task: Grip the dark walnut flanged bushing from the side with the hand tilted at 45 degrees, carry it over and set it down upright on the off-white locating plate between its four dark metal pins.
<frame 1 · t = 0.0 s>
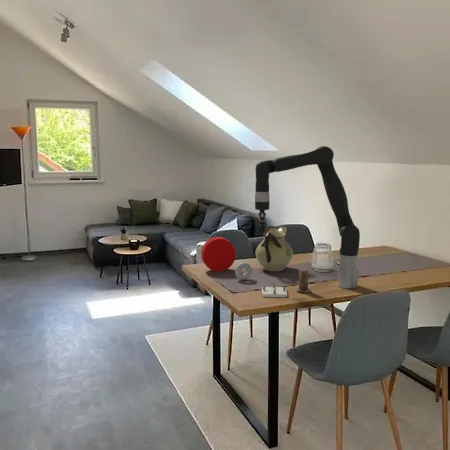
hand: (262, 231, 245), 29 cm above the table, tool pointing down, fingers open, 8 cm apart
tied beige sack: (274, 269, 283), on the table
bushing: (303, 291, 238), on the table
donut: (243, 280, 260), on the table
red round disc: (218, 270, 281), on the table
locating plate: (274, 293, 235), on the table
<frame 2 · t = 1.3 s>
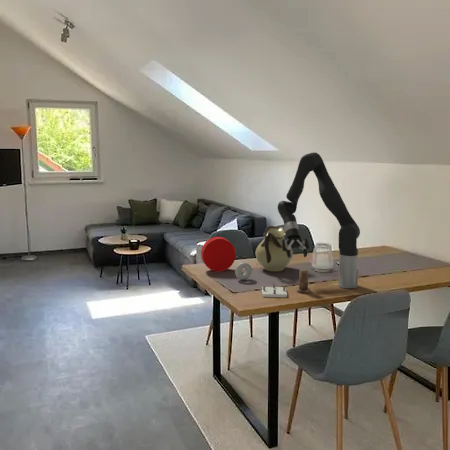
hand: (297, 256, 247), 15 cm above the table, tool tilted 45°, fingers open, 8 cm apart
nothing on the table moved.
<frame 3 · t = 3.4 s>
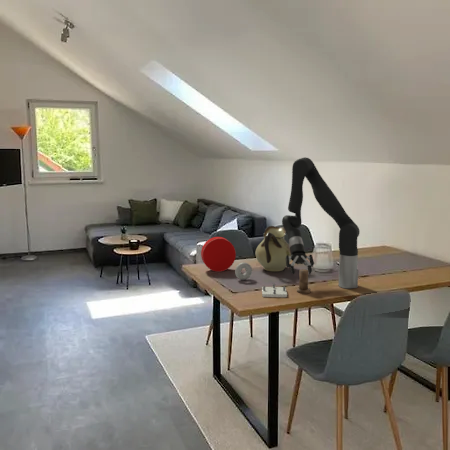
hand: (301, 273, 240), 9 cm above the table, tool tilted 45°, fingers open, 8 cm apart
nothing on the table moved.
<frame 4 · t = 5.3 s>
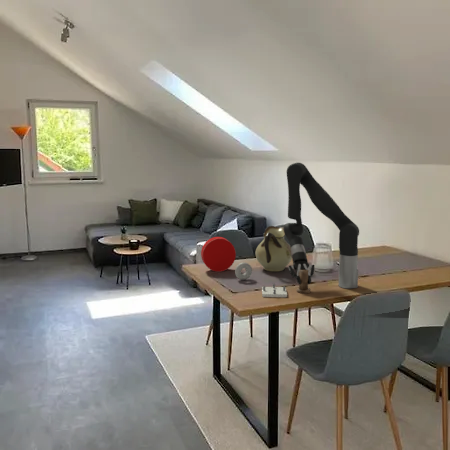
hand: (304, 283, 236), 5 cm above the table, tool tilted 45°, fingers closed on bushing, 4 cm apart
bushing: (303, 291, 238), on the table, touching gripper
everything else where it was.
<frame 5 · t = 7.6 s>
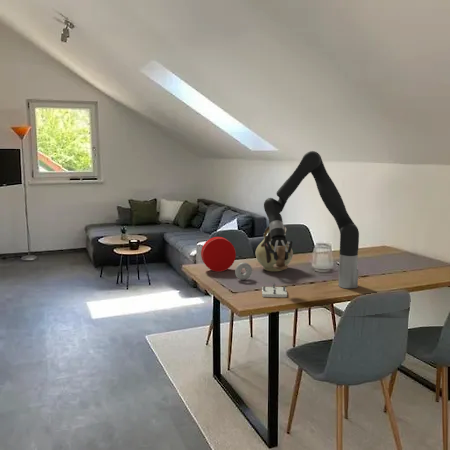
hand: (281, 259, 232), 18 cm above the table, tool tilted 45°, fingers closed on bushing, 4 cm apart
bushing: (280, 267, 235), point 13 cm above the table, touching gripper
everything else where it was.
when the fingers open (8 cm above the table, at t = 10.1 s): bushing drops 1 cm, resting on locating plate.
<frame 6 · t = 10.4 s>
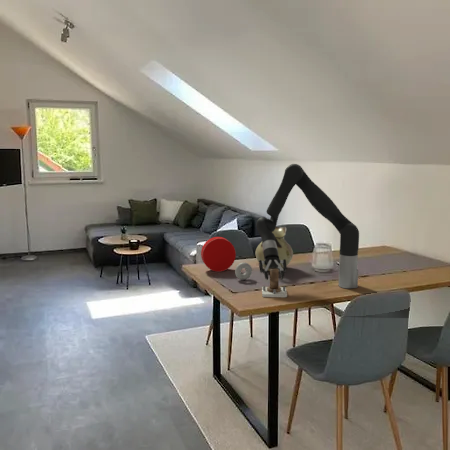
hand: (274, 278, 233), 8 cm above the table, tool tilted 45°, fingers open, 7 cm apart
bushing: (274, 290, 235), point 2 cm above the table, touching locating plate
everything else where it was.
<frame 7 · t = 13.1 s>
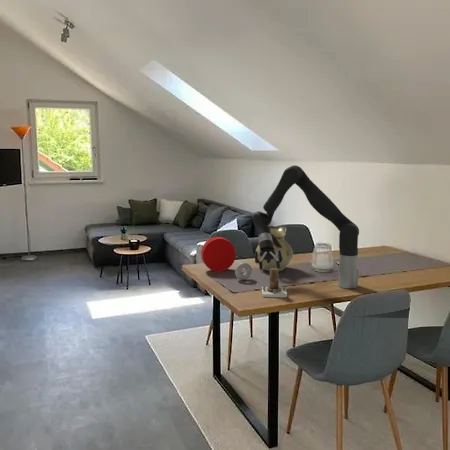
hand: (270, 268, 244), 10 cm above the table, tool tilted 45°, fingers open, 8 cm apart
nothing on the table moved.
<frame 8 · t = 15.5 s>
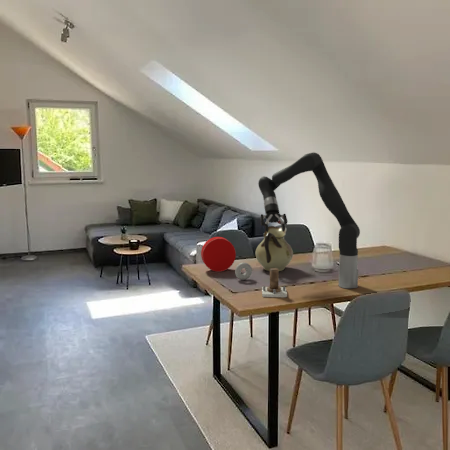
hand: (275, 230, 249), 29 cm above the table, tool tilted 45°, fingers open, 8 cm apart
nothing on the table moved.
at the end: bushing 0.1 cm off-centre on the locating plate, point 1.5 cm above the locating plate's base; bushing tilted 0°; the gripper is holding nothing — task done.
